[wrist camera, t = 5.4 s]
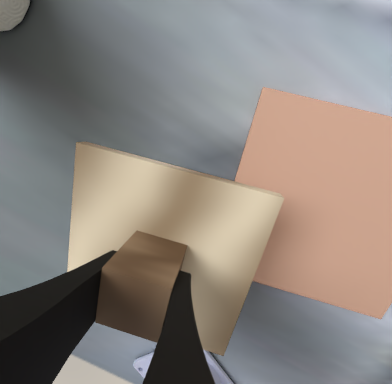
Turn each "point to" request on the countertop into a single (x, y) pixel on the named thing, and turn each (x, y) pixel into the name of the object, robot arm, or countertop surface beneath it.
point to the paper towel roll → (12, 13)
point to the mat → (324, 199)
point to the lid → (167, 240)
